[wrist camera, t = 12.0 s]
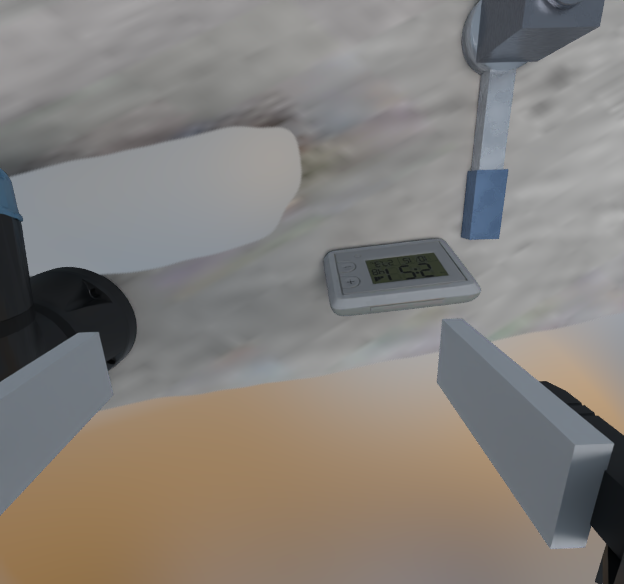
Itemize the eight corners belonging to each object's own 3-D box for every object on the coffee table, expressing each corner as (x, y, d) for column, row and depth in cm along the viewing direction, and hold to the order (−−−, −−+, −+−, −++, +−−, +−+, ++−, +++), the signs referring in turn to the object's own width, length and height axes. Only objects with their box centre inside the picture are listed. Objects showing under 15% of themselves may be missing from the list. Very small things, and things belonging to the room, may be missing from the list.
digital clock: (450, 238, 44) (494, 253, 33) (437, 304, 46) (473, 336, 36) (325, 228, 43) (331, 240, 33) (319, 295, 46) (323, 325, 35)
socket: (475, 63, 36) (529, 22, 27) (483, -12, 34) (543, -82, 25) (536, 61, 36) (610, 20, 27) (547, -14, 34) (630, -84, 25)
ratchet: (444, 237, 43) (462, 243, 38) (465, -8, 36) (492, -42, 31) (505, 235, 43) (533, 242, 38) (540, -10, 36) (580, -44, 31)
